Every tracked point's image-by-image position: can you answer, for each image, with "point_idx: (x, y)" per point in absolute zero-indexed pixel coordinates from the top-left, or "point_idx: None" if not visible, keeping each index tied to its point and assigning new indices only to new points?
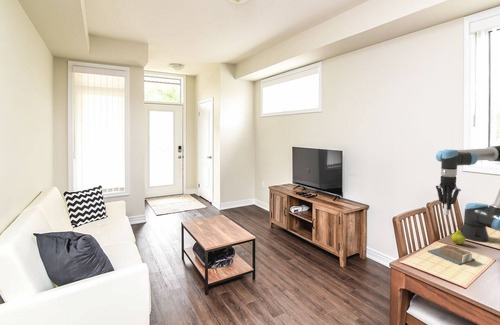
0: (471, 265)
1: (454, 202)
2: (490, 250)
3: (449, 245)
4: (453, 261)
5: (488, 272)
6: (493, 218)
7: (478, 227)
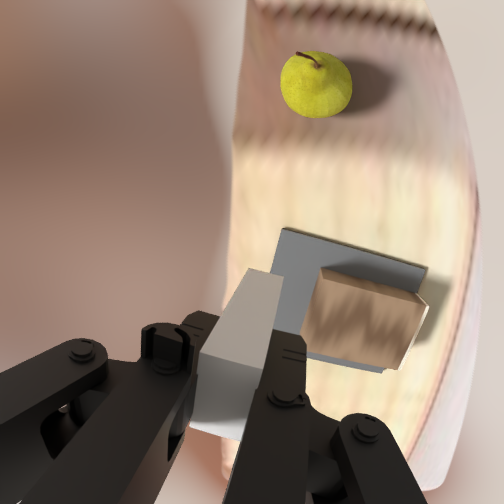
0: (418, 337)
1: (382, 457)
2: (437, 71)
3: (327, 290)
4: (362, 368)
5: (462, 347)
6: None
7: None
